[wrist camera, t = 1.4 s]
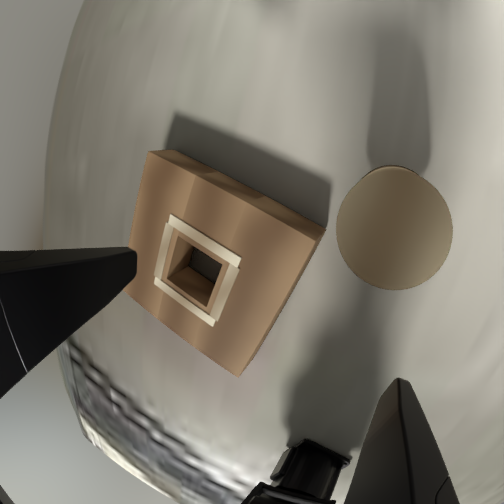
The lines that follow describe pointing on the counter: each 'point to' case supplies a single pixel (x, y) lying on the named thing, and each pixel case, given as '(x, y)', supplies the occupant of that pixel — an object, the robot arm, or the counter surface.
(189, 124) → the counter surface
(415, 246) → the peg
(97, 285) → the robot arm
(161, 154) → the seat block
